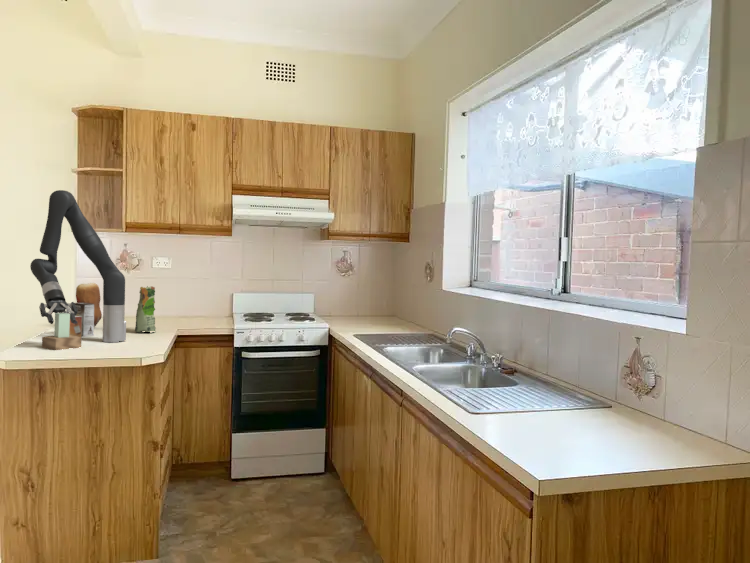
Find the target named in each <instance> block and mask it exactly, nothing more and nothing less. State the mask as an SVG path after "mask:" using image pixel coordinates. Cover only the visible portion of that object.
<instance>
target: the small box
mask: <svg viewBox="0 0 750 563" xmlns="http://www.w3.org/2000/svg"><path fill="white" fill-rule="evenodd" d="M75 318H76V320H75V322H74V323H72V322H71V320H70V328H69V335H73V336H79V337H81V338H82V336H81V335H82V316H75Z"/></svg>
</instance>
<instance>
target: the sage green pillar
mask: <svg viewBox="0 0 750 563" xmlns="http://www.w3.org/2000/svg"><path fill="white" fill-rule="evenodd" d="M69 328H70V314H68V313H54V333H53V334H54V335H53V336H55V337H58V338H61V337H69Z"/></svg>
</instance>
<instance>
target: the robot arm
mask: <svg viewBox="0 0 750 563" xmlns="http://www.w3.org/2000/svg"><path fill="white" fill-rule="evenodd" d="M48 200H49V201H48V210H47V211H48V212H47V218H46V225H45V228H44V232H43V236H42V239H41V243H40V246H39V252H40V254H43V255H45V256H47V259H43V258H35V259H33V260H32V261H31V263H30V271H31V273H32V275H33V276H34V277H35V278H36V280H37V281H38V282H39V283H40V287H41V290H42V296H43V298H44V301H45V303H44V302H40V304H39V312H40V315H41V316H40V317H42V318H43V317H46V318H47V322H48V323H49V324H50V325H53V324H54V323H55V319H54V318H53V317H54V316H53V313H54V314H55V313H68V314H70V320H71V322H72V323H74V322H75V320H76V318H75V316H76V315H77V312H78V310H77V308H76V306H75V303H76V302H74V301H72V302H70V303H69V302H67V301H66V297H65V295H64V291H63V289H62V286H61V285H60V282H59V279H58V277H57V275H56V273H57V271H58V250H59V247H60V243H61V239H62V227H63V221H64V219H66V221H67V222H68V224H69V227H70V229H71V232H72V235H73V238H74V239H75V241H76V243H77V244H78V246H79V248H80V249H81V251H82V252H83V253H84V255H85V256H86V257H87V258H88V260H90V261H91V262H92V264H93V265H94V267H96V269H97V271H98V272H99V274H100V276H101V278H102V281H103V282H102V284H103V287H102V292H103V293H102V296H103V297H102V302H103V304H102V305H103V306H102V311H103V312H102V342H104V343H120V342H119V341H122V342H125V341H124V340H126V341H127V320H125V308H126V307H125V304H126V303H125V302H126V278H125V275H124V274H123V272H121V270H120V269H119V268H118V267H117V266H116V264H115V263H114V261H113V260H112V258H111V257H110V255H109V254H108V250H107V248H106V247H105V244H104V243H103V241H102V239H101V238H100V236H99V234H98V233H97V232H96V231H95V229H94V227H93V226H92V224H91V223H90V222H89V221H88V219H87V218H86V217H85V215H84V214H83V212H82V210H81V208H80V206H79V204H78V202H77V199H76V198H75V196H74V195H73V193H71V191H70V192H69V191H68V190H61V189H60V190H55V191H53V192H52V193H51V194H50V196H49V199H48ZM46 308H47V309H48V311H46Z"/></svg>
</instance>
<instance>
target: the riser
mask: <svg viewBox="0 0 750 563" xmlns="http://www.w3.org/2000/svg"><path fill="white" fill-rule="evenodd" d="M42 347H43V348H42ZM79 347H81V348H82V336H81V337H79V336H73V335H69V337H61V338H58V337H55V336H54V335H48V336H42V337H41V348H42V349H47V348H48V349H49V350H53V351H62V349H63V350H70V349H69V348H73V349H78V348H79ZM48 349H47V350H48ZM79 349H80V348H79Z"/></svg>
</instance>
